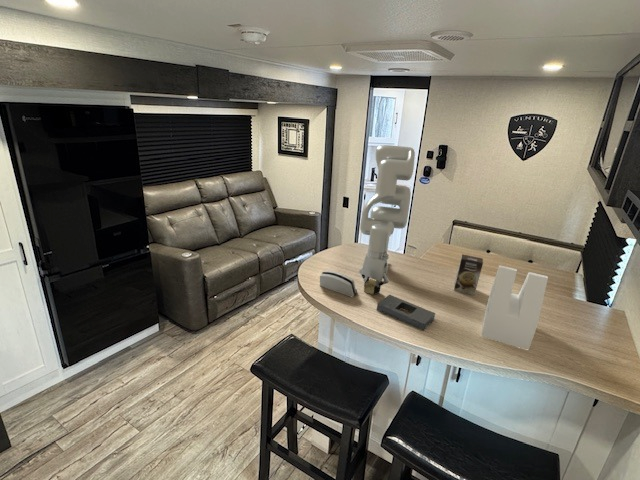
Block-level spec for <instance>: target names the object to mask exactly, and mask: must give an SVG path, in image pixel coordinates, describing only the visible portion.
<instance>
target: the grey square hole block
mask: <svg viewBox="0 0 640 480" xmlns="http://www.w3.org/2000/svg"><path fill="white" fill-rule="evenodd" d="M401 309H402V310H404V311H407V312H408V313H406V312H404V311H402V310H401ZM376 311H377V312H380V313H382V314H385V315H386V316H388V317H392V318H393V319H396V320H397V321H400V322H402V323H405V324H407V325H409V326H411V327H414V328H416V329H418V330H420V331H423V332H424V331H425V330H426V329H427V328H428V327H429V326H430V325H431V324H432V323H433V321H434V320H435V317H436V312H434V311H431V310H429V309H426V308H423V307H422V306H419V305H416V304H415V303H412V302H409V301H406V300H404V299H402V298H399V297H397V296H395V295H392V294H388V295H387V296H385V298H383V299H381V300H380V301H379V302H377V305H376ZM409 313H411V314H409Z"/></svg>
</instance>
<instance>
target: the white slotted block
mask: <svg viewBox="0 0 640 480" xmlns="http://www.w3.org/2000/svg"><path fill="white" fill-rule="evenodd" d="M516 276H517V268H513V267H509V266H504V265H500V264H499V265H498V268H497V271H496V274H495V277H494V279H493V283H492V286H491V289H490V291H489V292H490V293H489V296H488V299H487V303H486V307H485V310H484V316H483V321H482V330H481V335H480V337H481V338H485V339H488V338H489V339H488V340H491V339H492V341H494V340H496V341H495V342H497V341H500V342H499V343H501V342H503V343H502V344H504V343H506V344H505V345H507V344H510V345H513V346H517V347H520V348H524V349H528V350H530V348H531V345H532V343H533V339H534V336H535V333H536V331H537V327H538V325H539V321H540V315H541V311H542V307H543V302H544V297H545V293H546V289H547V284H548V280H549V277H548V276H547V275H545V274H544V275H543V274H539V273H535V272H531V271H529V272H528V273H527V275H526V277H525V279H524V281H523V284H522V286H521V288H520V290H519V293H513V289H514V285H515V280H516ZM510 345H509V346H510ZM513 346H512V347H513ZM517 347H516V348H517ZM520 348H519V349H520Z"/></svg>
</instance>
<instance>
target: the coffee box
mask: <svg viewBox="0 0 640 480" xmlns="http://www.w3.org/2000/svg"><path fill="white" fill-rule="evenodd" d="M483 265H484V259H483V258H482V257H476V256H473V255H468V254H463V253H462V254H461V257H460V260H459V265H458V267H457V273H456V277H455V281H454V285H453V291H456V292H460V293H464V294H469V295H473V296H474V295H475V294H476V291H477V287H478V284H479V279H480V277H481V272H482V268H483Z"/></svg>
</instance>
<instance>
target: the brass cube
mask: <svg viewBox="0 0 640 480" xmlns="http://www.w3.org/2000/svg"><path fill="white" fill-rule="evenodd" d="M364 283H365V282H364ZM375 286H376V280H375V279H372V278H369V281H367V282H366V283H365V290H363V291H364V292H365V293H367V294H369V295H371V296H374V295H375V294H374V293H375Z"/></svg>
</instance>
